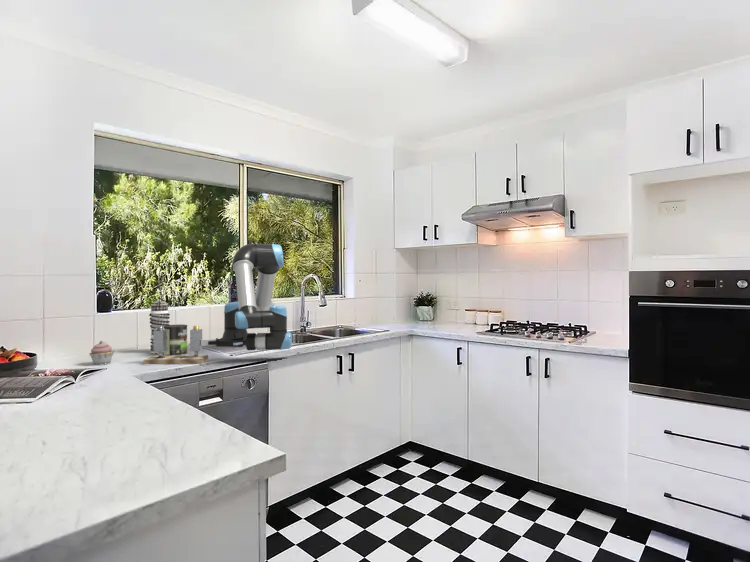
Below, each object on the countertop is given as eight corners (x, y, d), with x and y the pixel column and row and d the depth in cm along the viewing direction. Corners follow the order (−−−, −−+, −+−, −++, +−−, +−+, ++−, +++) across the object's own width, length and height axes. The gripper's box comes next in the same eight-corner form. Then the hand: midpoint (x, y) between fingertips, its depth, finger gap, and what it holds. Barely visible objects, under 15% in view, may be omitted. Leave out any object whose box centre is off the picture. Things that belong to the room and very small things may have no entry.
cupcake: (84, 364, 190) (83, 341, 190) (106, 360, 198) (105, 338, 198) (97, 366, 185) (96, 342, 185) (119, 362, 194) (118, 339, 193)
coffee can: (192, 353, 216) (191, 324, 215) (178, 357, 206) (178, 327, 205) (173, 352, 218) (172, 324, 218) (159, 356, 208) (158, 326, 207)
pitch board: (208, 359, 201) (208, 354, 201) (202, 363, 191) (201, 358, 191) (152, 360, 198) (152, 355, 198) (143, 364, 189) (143, 359, 188)
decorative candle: (156, 354, 213) (156, 302, 213) (145, 352, 218) (145, 301, 218) (174, 351, 221) (173, 301, 221) (163, 350, 226) (162, 300, 226)
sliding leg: (202, 355, 198) (202, 325, 197) (199, 356, 194) (199, 326, 193) (193, 355, 197) (192, 325, 197) (190, 357, 193) (189, 326, 193)
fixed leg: (166, 356, 196) (166, 326, 196) (163, 358, 192) (162, 327, 192) (157, 357, 196) (156, 326, 196) (153, 358, 192) (153, 327, 192)
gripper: (253, 352, 191) (196, 353, 189) (258, 347, 204) (205, 348, 202) (253, 335, 191) (196, 336, 189) (258, 331, 204) (205, 332, 202)
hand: (201, 342), depth 195 cm, fingers closed
